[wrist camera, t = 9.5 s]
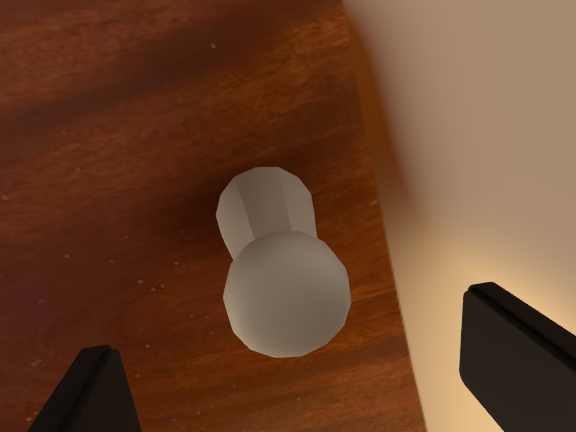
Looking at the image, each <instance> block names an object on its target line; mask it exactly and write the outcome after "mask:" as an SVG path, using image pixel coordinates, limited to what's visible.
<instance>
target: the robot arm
mask: <svg viewBox="0 0 576 432" xmlns="http://www.w3.org/2000/svg"><path fill="white" fill-rule="evenodd" d="M459 372H460V376H461V379H462V381H463V383H464V384H465V386H466V387H467V388H468V389H469V390H470V391H471V393H472V394H473V395H474V396H475V397H476V399H477V400H478V401H479V402H480V404H481V405H482V406H483V407H484V408H485V409H486V411H487V412H488V413H489V414H490V415H491V416H492V418H493V419H494V420H495V421H496V423H497V424H498V425H499V426H500V427H501V429H502V430H503V431H504V432H576V336H575V335H574V334H572V333H571V332H569V331H567V330H566V329H564V328H563V327H561V326H560V325H558V324H557V323H555V322H554V321H552V320H550V319H549V318H548V317H546V316H545V315H543V314H542V313H540V312H539V311H537V310H535V309H534V308H532V307H531V306H529V305H528V304H526V303H525V302H523V301H522V300H520V299H519V298H517V297H516V296H514V295H513V294H511V293H510V292H508V291H507V290H505V289H503V288H502V287H500V286H499V285H497V284H496V283H494V282H486V283H480V284H474V285H471V286H470V287H469V288H468V291H466V292H465V293H464V296H463V311H462V329H461V348H460V366H459ZM27 432H142V431H141V427H140V424H139V420H138V417H137V413H136V410H135V406H134V402H133V399H132V395H131V392H130V388H129V385H128V381H127V378H126V374H125V371H124V367H123V364H122V360H121V357H120V353H119V351H118V350H117V349H113V350H112V348H111V347H110V346H109V345H101V346H95V347H89V348H84V349H82V350H81V351H80V352H79V354H78V356H77V357H76V359H75V360H74V362H73V363H72V365H71V366H70V368H69V369H68V371H67V372H66V374H65V375H64V377H63V378H62V380H61V381H60V383H59V384H58V386H57V387H56V389H55V390H54V392H53V393H52V395H51V396H50V398H49V399H48V401H47V402H46V404H45V405H44V407H43V408H42V410H41V411H40V413H39V414H38V416H37V417H36V419H35V420H34V422H33V423H32V425H31V426H30V428H29V429H28V431H27Z"/></svg>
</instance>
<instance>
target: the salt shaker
mask: <svg viewBox="0 0 576 432" xmlns="http://www.w3.org/2000/svg"><path fill="white" fill-rule="evenodd" d="M216 218H217V221H218V225H219V228H220V231H221V235H222V237H223V239H224V242H225V244H226V246H227V248H228V250H229V252H230V254H231V256H232V258H233V260H234V261H233V262H232V263H231V266H230V270H229V274H228V278H227V282H226V286H225V291H224V296H223V299H224V303H225V307H226V310H227V313H228V317H229V320H230V323H231V326H232V330H233V332H234V333H235V334H236V335H237V336H238V337H239V338H240V339H241V340H242V341H243V342H244V343H245V344H246V345H247V346H248V347H249V348H250V349H251V350H253V351H256V352H259V353H262V354H266V355H269V356H272V357H275V358H279V357H296V356H303V355H305V354H307V353H309V352H312V351H314V350H316V349H318V348H320V347H322V346H324V345H326V344H327V343H328V342H329V341H330V340H331V339H332V338H333V337H334V336H335V335H336V333H337V332H338V331H339V330H340V329H341V328H342V327H343V326H344V324H345V321H346V318H347V315H348V311H349V308H350V305H351V295H350V288H349V281H348V276H347V272H346V268H345V267H344V265H343V264H342V263H341V262H340V260H339V259H338V258H337V257H336V256H335V254H334V253H333V252H332V251H331V249H330V248H329V247H328V246H327V245H326V243H325V242H323V241H321V240H319V239H317V233H316V226H315V215H314V209H313V203H312V197H311V193H310V192H309V191H308V189H307V188H306V187H305V186H304V184H303V183H302V182H301V180H300V179H299V178H298V177H297V176H295V175H293V174H291V173H289V172H287V171H285V170H283V169H281V168H279V167H255V168H253V169H250V170H248V171H246V172H244V173H241V174H239V175H237V176H235V177H234V178H233V179H232V180H231V182H230V183H229V184H228V186H227V187H226V188H225V190H224V191H223V192H222V194H221V195H220V200H219V204H218V209H217V213H216Z"/></svg>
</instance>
